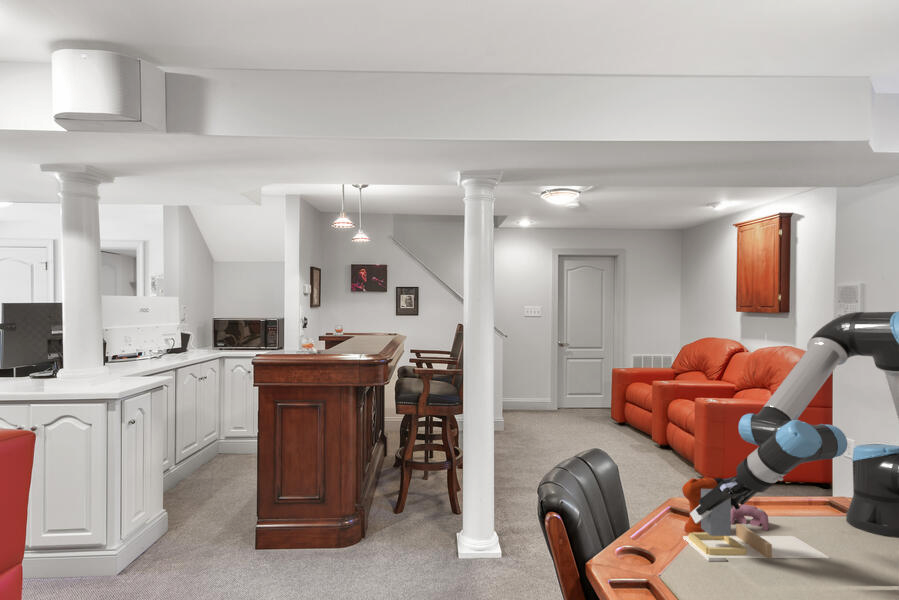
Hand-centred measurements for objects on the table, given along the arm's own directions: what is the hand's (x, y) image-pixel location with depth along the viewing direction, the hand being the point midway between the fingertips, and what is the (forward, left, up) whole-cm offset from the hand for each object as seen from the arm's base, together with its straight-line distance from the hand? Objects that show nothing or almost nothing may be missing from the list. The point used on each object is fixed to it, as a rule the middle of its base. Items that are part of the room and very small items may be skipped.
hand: (704, 516), depth 138 cm
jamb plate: (-11, +3, -7) cm, 14 cm away
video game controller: (-19, -12, -7) cm, 23 cm away
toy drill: (-7, -10, -7) cm, 14 cm away
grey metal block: (-1, +3, -3) cm, 4 cm away
